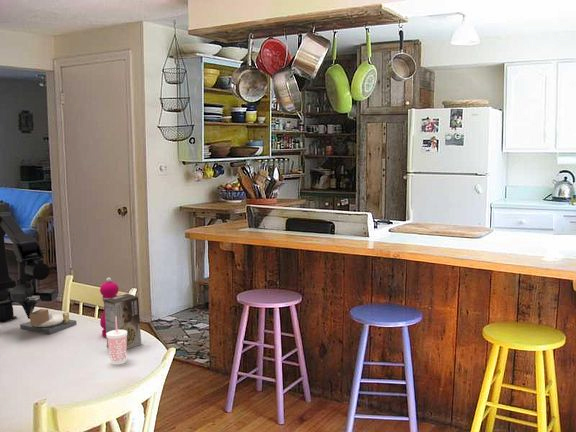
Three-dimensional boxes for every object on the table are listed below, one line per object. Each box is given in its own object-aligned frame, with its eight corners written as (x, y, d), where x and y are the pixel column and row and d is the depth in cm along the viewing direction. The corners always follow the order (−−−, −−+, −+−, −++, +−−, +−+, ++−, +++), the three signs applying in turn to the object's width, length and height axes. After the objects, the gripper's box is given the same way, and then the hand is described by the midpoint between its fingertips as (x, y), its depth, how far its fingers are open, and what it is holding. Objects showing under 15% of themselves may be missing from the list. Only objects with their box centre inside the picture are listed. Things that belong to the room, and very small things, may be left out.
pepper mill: (99, 333, 209) (96, 276, 206) (120, 330, 212) (117, 274, 209) (102, 339, 202) (99, 281, 200) (124, 336, 205) (121, 278, 203)
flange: (21, 327, 211) (19, 313, 210) (44, 316, 224) (43, 303, 223) (48, 329, 208) (47, 314, 208) (70, 318, 221) (70, 304, 220)
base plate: (20, 328, 215) (19, 324, 215) (47, 319, 226) (47, 315, 226) (49, 334, 208) (49, 330, 208) (76, 324, 219) (76, 320, 219)
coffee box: (129, 340, 201) (127, 293, 199) (141, 344, 197) (139, 296, 195) (106, 348, 194) (103, 299, 192) (118, 352, 190) (115, 302, 188)
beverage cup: (107, 366, 178) (104, 320, 176) (108, 359, 184) (105, 314, 182) (129, 364, 180) (126, 318, 178) (128, 356, 186) (126, 312, 184)
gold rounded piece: (62, 323, 216) (61, 313, 215) (66, 321, 218) (65, 312, 217) (66, 324, 215) (65, 314, 214) (70, 322, 217) (69, 313, 216)
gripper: (-12, 279, 202) (-10, 324, 204) (43, 281, 201) (45, 326, 203) (5, 272, 213) (7, 315, 215) (57, 273, 212) (59, 316, 214)
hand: (29, 318), depth 211 cm, fingers closed
